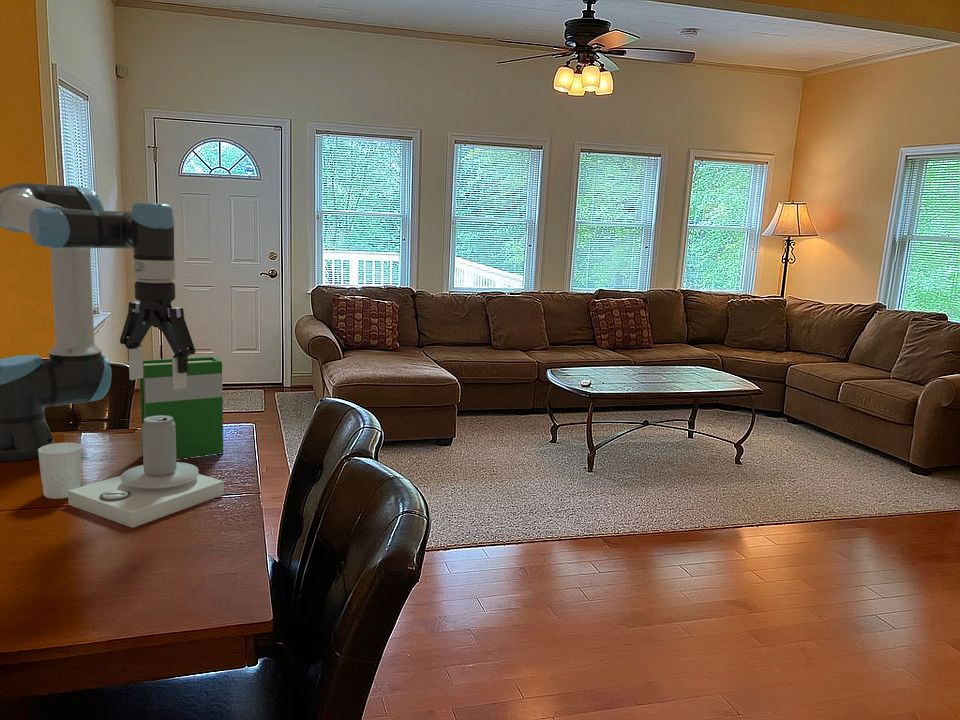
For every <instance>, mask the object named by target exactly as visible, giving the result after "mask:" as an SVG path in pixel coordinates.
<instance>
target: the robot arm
mask: <svg viewBox="0 0 960 720" xmlns="http://www.w3.org/2000/svg"><path fill="white" fill-rule="evenodd" d="M173 210H174V209H173V207H172V206H171V205H170V204H168V203H167V204H166V203H155V202H154V203H153V202H135V203H133V205H132V211H130V210H129V211H125V210H124V211H122V210H121V211H115V210H114V211H112V210H105V209H104V206H103V203H102V201H101V199H100V197H99V195H98V194H97V193H96V192H95V191H94V190H92V189H90V188H88V187H80V186H75V185H60V184H59V185H58V184H46V183H45V184H43V183H41V184H40V183H32V182H31V183H30V182H21V183H13V184H9V185H5V186H4V187H1V188H0V227H1V228H3V229H5V230H7V231H9V232H12V233H24V234H25V233H26V234H29V235H30V237H31V239H32V241H33V243H34V244H35V245H36V246H38V247H45V248H49V249H50V261H51V277H52V279H51V280H52V299H53V300H52V301H53V318H54V319H53V320H54V321H53V322H54V337H55V339H54V340H55V344H54V346H53V347H52V348H51V349H49V351H48V357H49V358H48V359H45V360H44V359H43V358H42V357H41V355H38V354H25V355H24V354H22V355H14V356H9V357H5V358H1V359H0V462H16V461H23V460H30V459H35V458H39V456H38V449H39V448H41V447H43V446H46V445H49V444H55V438H54V436H53V435H52V432H51V430H50V427H49V426H48V424H47V423H48V422H47V421H46V417H45V409H46V408H50V407H59V406H65V405H72V404H73V405H75V404H81V403H82V404H87V403H89V402H90V403H91V402H94V401H100V400H102V399H103V398H104V397H106V395H107V394H108V392H109V390H110V387H111V384H112V383H111V382H112V368H111V361H110V360H109V358H108V356H106V355H103V354H102V349H101V348H100V347H98V346H97V345H96V343H95V328H94V307H93V302H94V301H93V280H92V277H93V276H92V258H91V257H92V255H91V250H92V249H127V250H128V249H131V250H133V259H134V260H133V262H134V265H133V266H134V267H133V268H134V279H136V280H137V281H135V283H134V298H135V300H136V301H130V302H128V307H127V308H128V309H127V311H128V312H127V315H126V318H125V322H124V325H123V329H122V331H121V334H120V337H119V343H120V344H121V345H124V346H125V348H126V349H127V361H128V373H129V375H128V376H129V381H135V380H140V379H141V378H143V360H144V359H143V358H144V357H143V347H142V342H143V340H144V338H145V337H146V335H147V334H148V332H149V330H150V328H151V327H153V328H157V329H158V330H160V331H161V332H162V334H163V336H164V337H165V339H166V341H167V343H168V344H169V346H170V348H171V350H172V352H173V354H174V355H172V357H171V359H172V364H173V389H175V390H176V389H181V388H186V387H187V371H188V358H189V356H191V355H195V354H196V353H197V352H196V348H195V346H194V342H193V340H192V336H191V334H190V331H189V328H188V325H187V322H186V319H185V313H184V308H183V307H182V306H178V307H173V306H172V302H174V300H175V299H176V284H175V282H173V280H175V279H176V263H175V224H176V223H175V219H174V211H173Z"/></svg>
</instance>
